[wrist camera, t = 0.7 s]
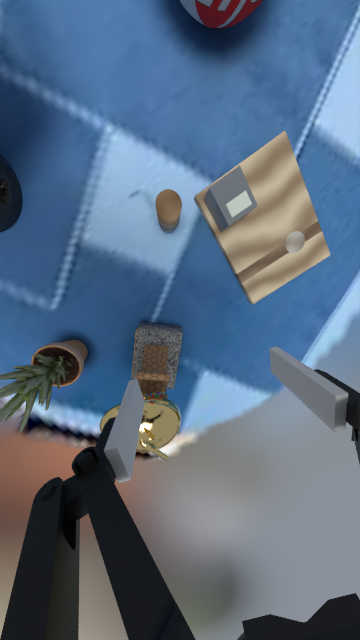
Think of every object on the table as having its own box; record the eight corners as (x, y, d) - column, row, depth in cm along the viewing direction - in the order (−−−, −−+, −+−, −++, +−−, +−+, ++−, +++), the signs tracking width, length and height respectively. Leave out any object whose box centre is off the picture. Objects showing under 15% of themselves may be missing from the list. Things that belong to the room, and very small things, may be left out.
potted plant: (70, 374, 43) (-54, 498, 19) (46, 343, 40) (-131, 441, 16) (104, 357, 42) (21, 463, 18) (82, 325, 40) (-47, 399, 16)
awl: (155, 220, 35) (150, 199, 25) (171, 209, 35) (172, 183, 25) (166, 238, 36) (165, 224, 26) (181, 227, 36) (186, 209, 26)
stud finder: (203, 200, 33) (209, 186, 28) (229, 181, 33) (240, 163, 28) (220, 232, 35) (229, 225, 30) (245, 215, 35) (259, 204, 29)
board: (194, 199, 34) (195, 195, 33) (280, 136, 33) (285, 130, 31) (250, 303, 41) (253, 304, 39) (324, 255, 39) (330, 254, 38)
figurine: (136, 320, 40) (88, 388, 16) (180, 326, 41) (197, 397, 17) (131, 372, 44) (86, 491, 20) (173, 376, 45) (178, 493, 21)
